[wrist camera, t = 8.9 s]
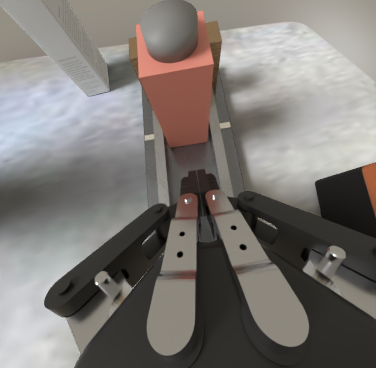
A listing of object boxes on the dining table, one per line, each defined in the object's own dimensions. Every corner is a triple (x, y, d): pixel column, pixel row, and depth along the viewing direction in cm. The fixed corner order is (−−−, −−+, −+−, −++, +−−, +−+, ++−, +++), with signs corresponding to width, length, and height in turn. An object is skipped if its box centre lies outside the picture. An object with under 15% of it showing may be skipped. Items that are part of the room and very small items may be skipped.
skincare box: (85, 71, 26) (-8, -48, 14) (108, 65, 26) (31, -60, 14) (87, 98, 24) (-16, -9, 13) (110, 92, 24) (28, -22, 13)
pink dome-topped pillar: (207, 142, 19) (215, 41, 8) (170, 147, 19) (130, 58, 8) (201, 110, 20) (203, -16, 9) (166, 116, 20) (128, 1, 10)
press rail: (250, 236, 17) (286, 250, 10) (154, 247, 18) (123, 267, 11) (215, 69, 23) (222, 3, 16) (144, 82, 24) (120, 24, 17)
